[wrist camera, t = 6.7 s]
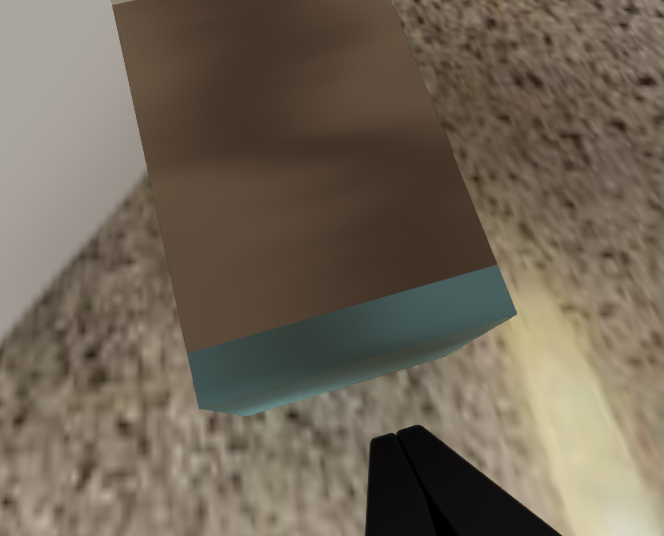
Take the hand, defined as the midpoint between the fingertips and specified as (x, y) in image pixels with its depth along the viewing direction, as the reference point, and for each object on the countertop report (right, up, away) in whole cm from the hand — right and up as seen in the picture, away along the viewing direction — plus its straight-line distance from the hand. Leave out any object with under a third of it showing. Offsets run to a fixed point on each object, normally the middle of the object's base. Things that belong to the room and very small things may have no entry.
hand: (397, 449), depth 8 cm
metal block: (-1, 0, +4) cm, 4 cm away
